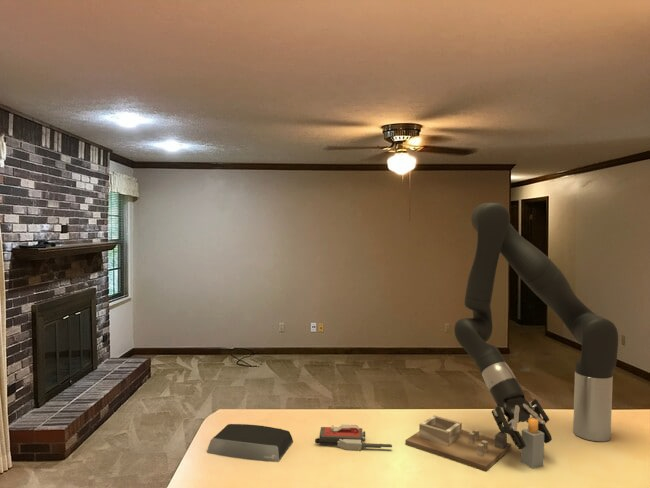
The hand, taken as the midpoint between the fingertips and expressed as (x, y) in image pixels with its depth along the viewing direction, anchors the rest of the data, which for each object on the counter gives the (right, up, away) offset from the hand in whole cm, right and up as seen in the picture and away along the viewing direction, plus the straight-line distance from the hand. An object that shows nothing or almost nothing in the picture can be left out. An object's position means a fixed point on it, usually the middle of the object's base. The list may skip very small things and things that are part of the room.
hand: (536, 444), depth 123 cm
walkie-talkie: (-43, -5, +12) cm, 45 cm away
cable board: (-16, -4, +11) cm, 20 cm away
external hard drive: (-70, -5, +9) cm, 71 cm away
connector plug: (0, -5, +1) cm, 5 cm away
